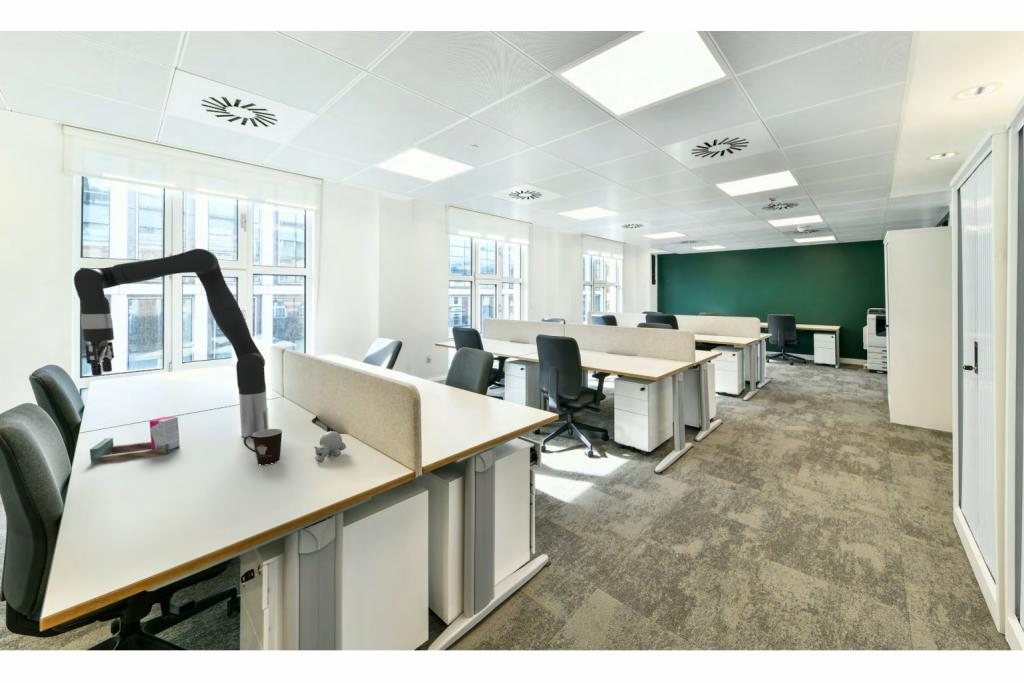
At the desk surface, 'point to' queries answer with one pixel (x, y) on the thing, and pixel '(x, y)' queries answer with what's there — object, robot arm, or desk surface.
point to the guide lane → (105, 448)
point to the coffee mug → (266, 445)
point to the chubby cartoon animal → (329, 445)
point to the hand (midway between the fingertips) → (102, 373)
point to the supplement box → (164, 433)
